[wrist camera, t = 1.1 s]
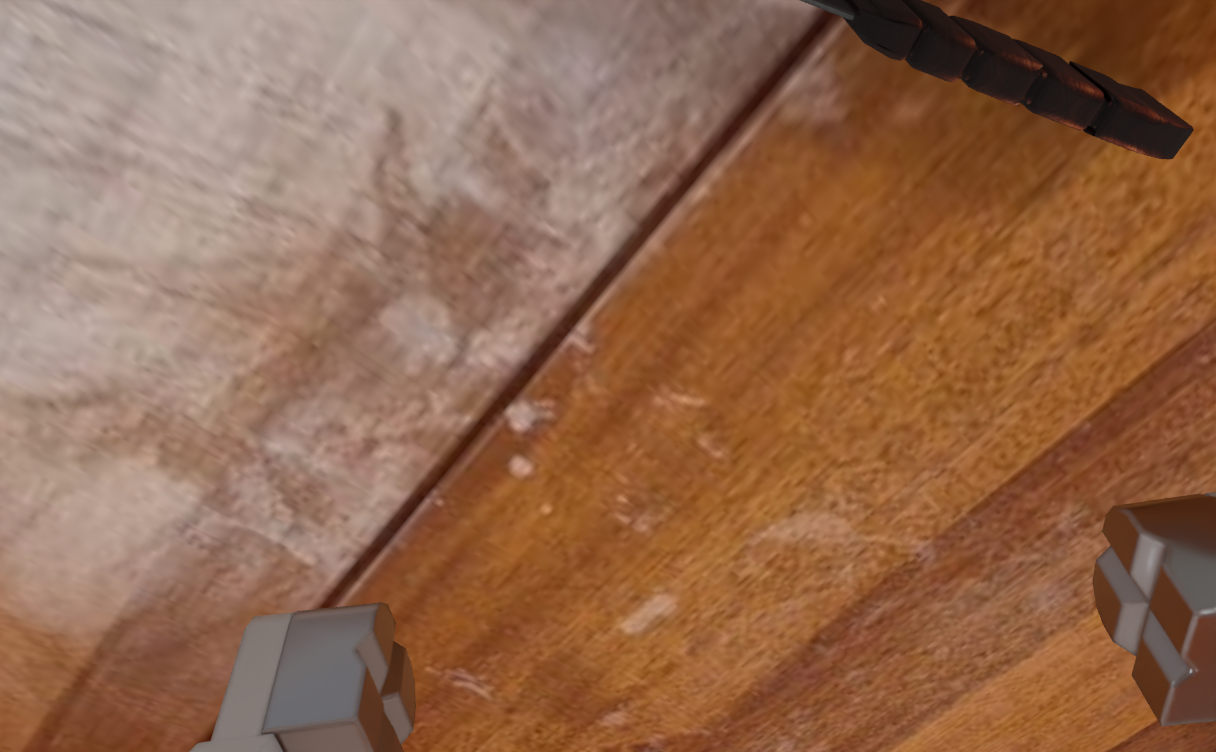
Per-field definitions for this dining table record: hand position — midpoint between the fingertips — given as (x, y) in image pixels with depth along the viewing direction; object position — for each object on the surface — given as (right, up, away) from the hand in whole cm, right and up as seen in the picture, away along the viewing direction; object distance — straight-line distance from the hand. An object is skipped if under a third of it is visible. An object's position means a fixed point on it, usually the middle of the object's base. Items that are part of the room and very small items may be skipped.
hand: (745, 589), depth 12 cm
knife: (+3, +11, +10) cm, 15 cm away
